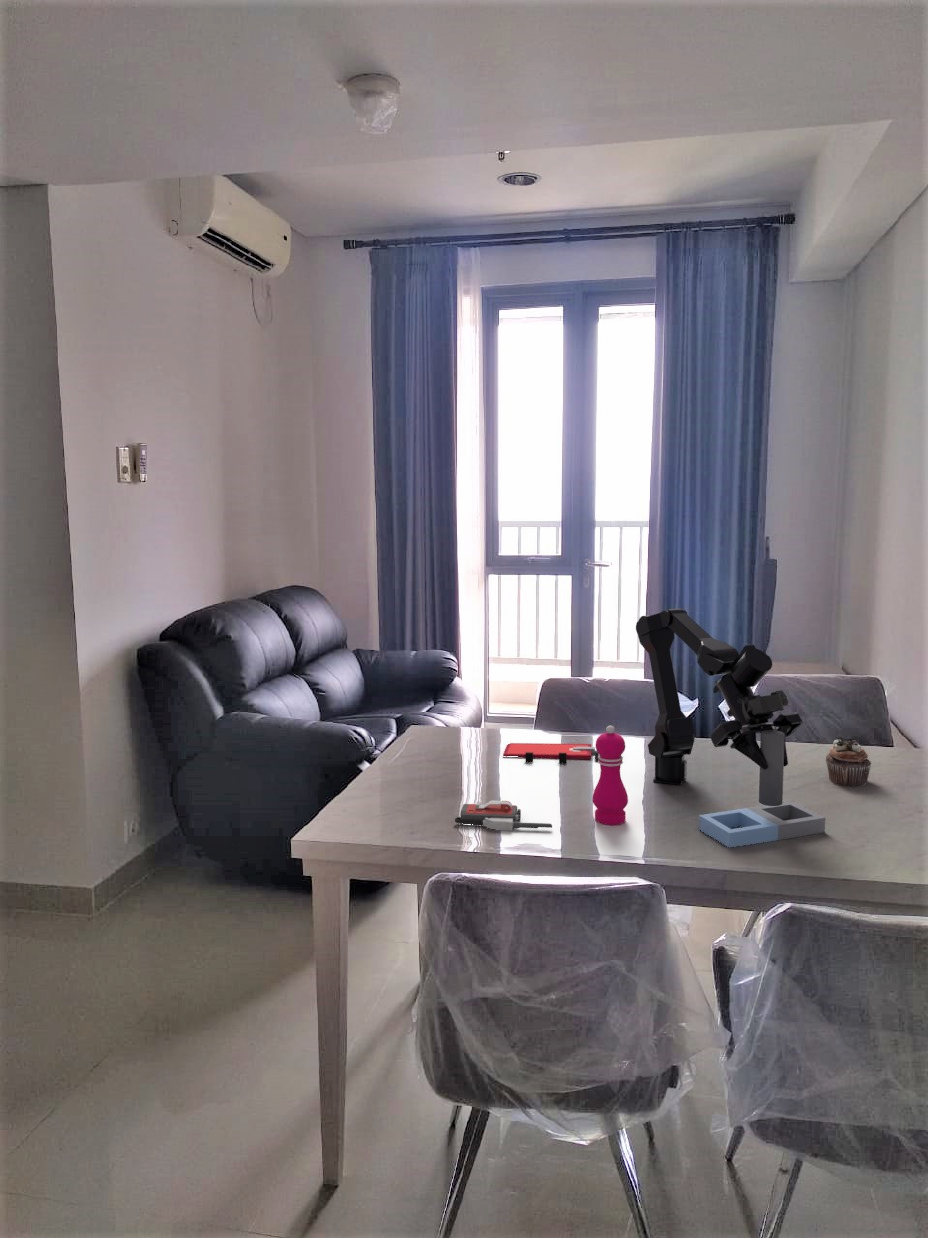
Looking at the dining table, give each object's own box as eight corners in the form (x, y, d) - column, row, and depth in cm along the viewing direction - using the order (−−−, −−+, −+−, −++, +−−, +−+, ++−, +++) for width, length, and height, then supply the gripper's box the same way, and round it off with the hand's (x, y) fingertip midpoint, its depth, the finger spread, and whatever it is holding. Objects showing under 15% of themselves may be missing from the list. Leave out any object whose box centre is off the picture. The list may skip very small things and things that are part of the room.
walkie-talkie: (453, 831, 176) (552, 834, 173) (452, 810, 176) (551, 813, 173) (459, 815, 185) (553, 818, 182) (458, 795, 184) (553, 798, 181)
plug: (756, 803, 170) (758, 734, 169) (761, 797, 174) (763, 729, 172) (779, 807, 168) (781, 737, 166) (784, 800, 172) (786, 732, 170)
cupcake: (875, 789, 195) (877, 745, 194) (829, 787, 197) (831, 744, 196) (864, 775, 204) (866, 734, 203) (821, 773, 206) (822, 732, 205)
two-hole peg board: (728, 848, 164) (729, 833, 163) (698, 829, 173) (699, 815, 173) (824, 832, 171) (825, 817, 170) (790, 815, 180) (791, 801, 180)
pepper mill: (630, 815, 182) (630, 722, 179) (625, 827, 175) (625, 731, 172) (596, 812, 184) (596, 720, 181) (589, 824, 177) (589, 729, 175)
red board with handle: (621, 765, 216) (619, 749, 231) (621, 754, 216) (619, 739, 231) (501, 763, 221) (507, 748, 236) (501, 753, 221) (507, 738, 235)
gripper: (721, 681, 168) (757, 752, 159) (798, 673, 175) (837, 740, 166) (695, 712, 177) (729, 780, 168) (770, 703, 183) (806, 768, 174)
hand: (776, 767), depth 169 cm, fingers closed on plug, 4 cm apart
